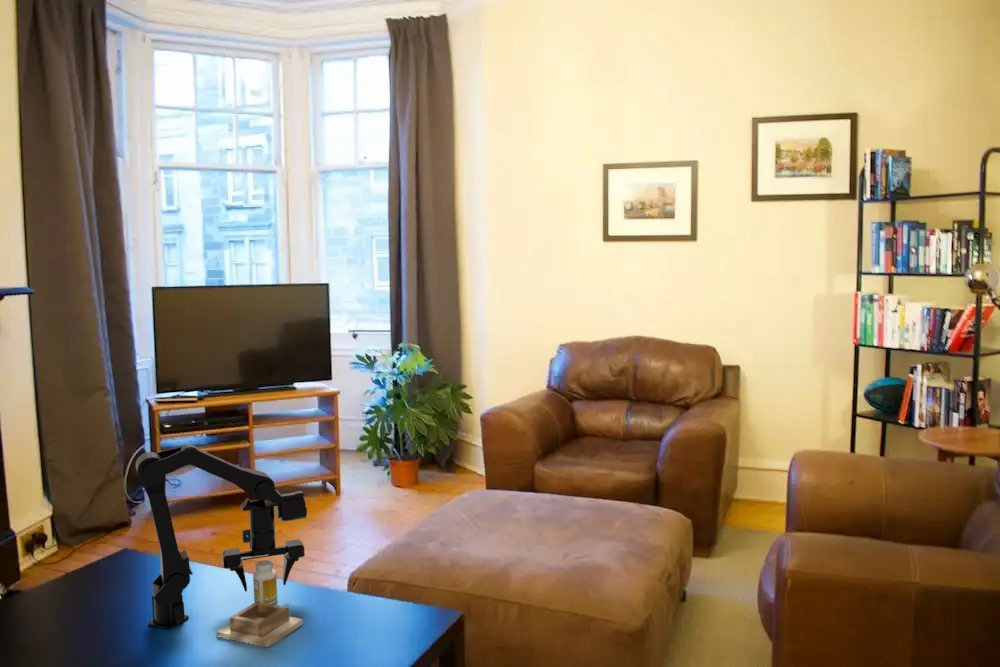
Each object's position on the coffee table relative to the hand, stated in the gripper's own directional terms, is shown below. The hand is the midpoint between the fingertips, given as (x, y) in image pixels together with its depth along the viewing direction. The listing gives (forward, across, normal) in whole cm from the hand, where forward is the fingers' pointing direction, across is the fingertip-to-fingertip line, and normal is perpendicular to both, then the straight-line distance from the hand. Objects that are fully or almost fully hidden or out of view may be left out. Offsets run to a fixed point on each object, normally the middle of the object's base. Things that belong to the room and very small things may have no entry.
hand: (265, 587), depth 195 cm
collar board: (+4, +3, +16) cm, 16 cm away
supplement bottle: (+4, 0, 0) cm, 4 cm away
